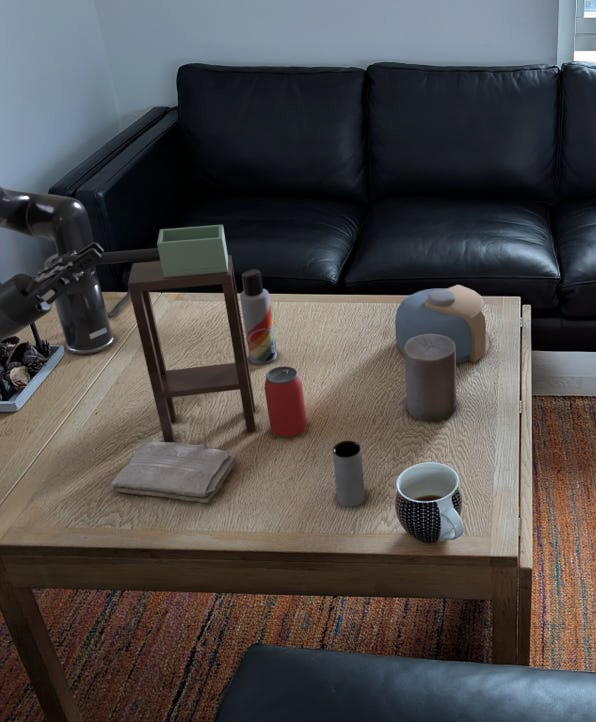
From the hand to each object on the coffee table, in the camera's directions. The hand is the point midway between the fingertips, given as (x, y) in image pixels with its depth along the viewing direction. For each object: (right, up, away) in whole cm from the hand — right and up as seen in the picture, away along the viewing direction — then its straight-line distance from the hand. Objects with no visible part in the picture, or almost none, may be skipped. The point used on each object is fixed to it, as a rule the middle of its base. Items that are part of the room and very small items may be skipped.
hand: (98, 250), depth 133 cm
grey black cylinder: (+40, -41, +5) cm, 57 cm away
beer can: (+26, -31, +21) cm, 45 cm away
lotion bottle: (+15, -17, +42) cm, 48 cm away
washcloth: (+9, -38, +9) cm, 40 cm away
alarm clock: (+53, -14, +48) cm, 73 cm away
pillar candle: (+52, -27, +28) cm, 64 cm away
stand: (+11, -30, +22) cm, 38 cm away
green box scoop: (+7, -3, +4) cm, 8 cm away
